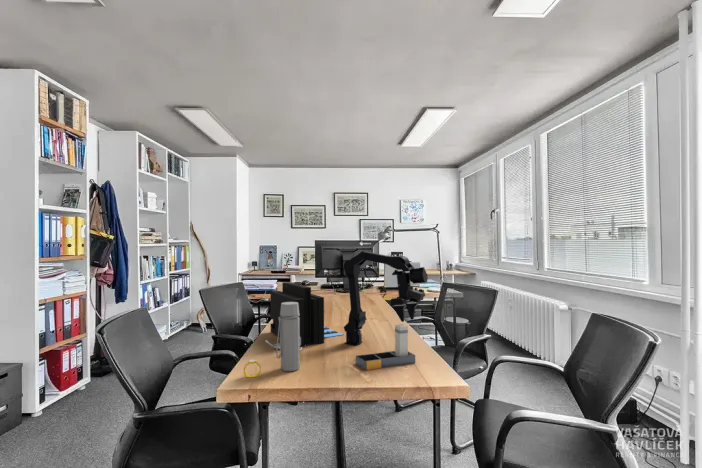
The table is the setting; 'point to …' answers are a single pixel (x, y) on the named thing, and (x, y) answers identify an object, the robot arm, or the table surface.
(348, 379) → the table surface
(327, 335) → the game console
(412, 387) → the table surface
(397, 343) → the white capped pillar
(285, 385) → the table surface
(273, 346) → the wall mount rack
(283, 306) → the water bottle
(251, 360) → the yellow ring
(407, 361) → the rack
